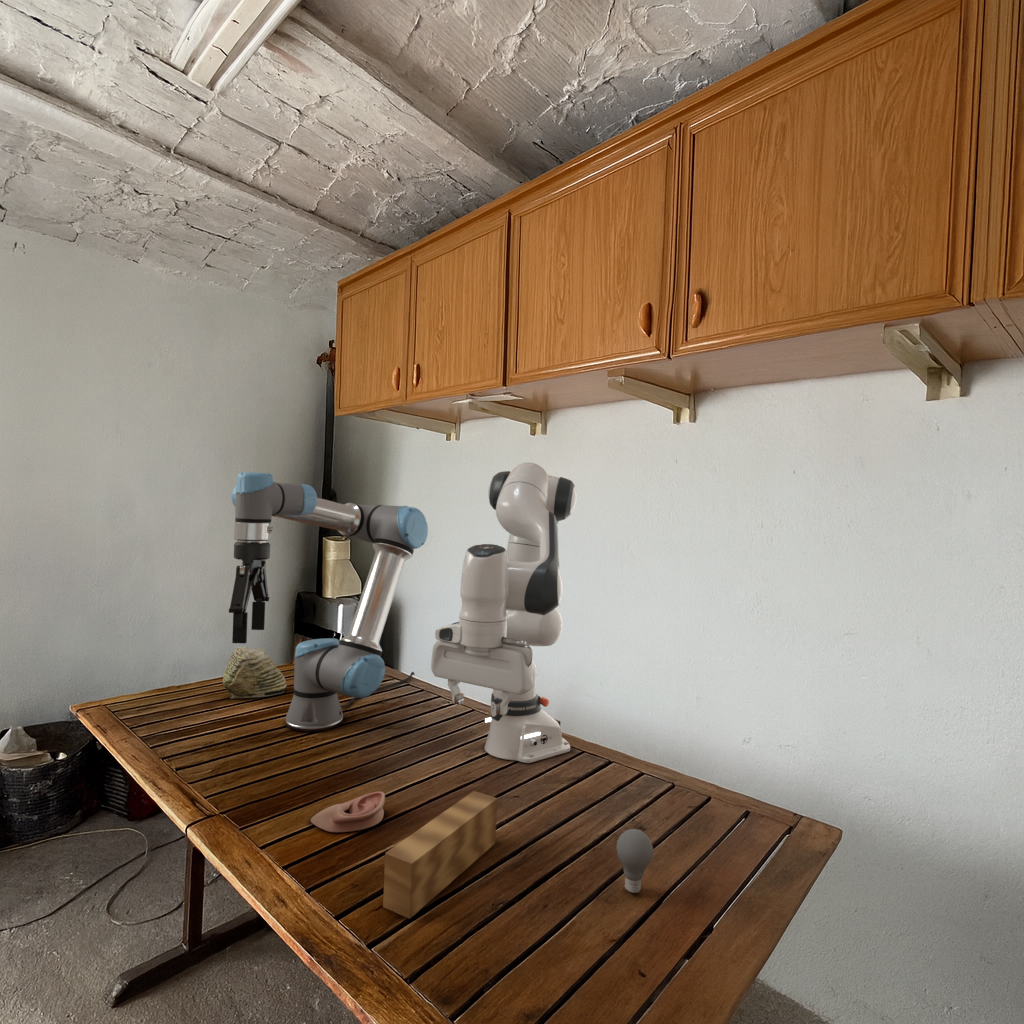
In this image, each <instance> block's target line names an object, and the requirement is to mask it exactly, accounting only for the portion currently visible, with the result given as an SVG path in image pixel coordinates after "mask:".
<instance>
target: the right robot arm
mask: <svg viewBox="0 0 1024 1024" xmlns="http://www.w3.org/2000/svg"><path fill="white" fill-rule="evenodd" d="M575 486H576V485H575V484H574V482H573V481H572V480H571V479H569V478H565V477H562V476H560V477H558V476H553V475H549V474H547V471H546V470H545V469H544V468H543V467H542V466H541V465H540V464H537V463H534V462H521V463H519V464H517V465H516V466H515V467H514V468H513V469H512V470H511V471H510V470H507V471H506V470H505V471H499V472H497V473H496V474H494V475H493V477H492V479H491V481H490V483H489V485H488V491H487V493H488V495H487V496H488V499H489V506H491V508H492V509H493V510H494V511H495V515H496V519H497V521H498V523H499V525H500V526H501V527H502V528H503V530H505V531H506V532H507V533H508V534H509V535H508V541H507V547H506V548H505V547H503V546H501V545H498V544H491V543H482V544H475V545H472V546H470V547H468V548H467V549H466V551H465V553H464V559H463V563H462V570H461V577H460V589H459V590H460V591H459V592H460V598H461V608H460V612H459V615H458V617H459V618H458V621H457V622H453V623H451V624H447V625H446V624H445V625H444V626H441V627H440V626H439V627H437V628H436V629H435V631H434V637H435V639H436V641H435V642H434V643H433V647H432V650H431V651H432V652H431V660H430V661H431V662H430V670H431V673H432V674H433V676H434V677H436V678H440V679H444V680H445V679H446V680H447V686H448V689H449V691H450V693H451V698H452V699H451V702H452V704H454V705H458V706H461V705H463V704H464V703H465V702H464V701H465V693H462V692H461V690H460V687H459V684H460V683H463V684H469V685H474V686H477V687H478V686H479V687H483V688H487V689H492V693H491V695H490V696H491V698H490V717H486V718H484V722H485V723H490V724H489V729H488V734H487V737H486V741H485V743H484V746H483V748H484V751H485V752H486V753H487V754H488V755H490V756H492V757H495V758H498V759H500V760H501V759H502V760H509V761H516V762H521V763H524V764H531V763H535V762H538V761H542V760H544V759H548V758H552V757H555V756H556V757H557V756H559V755H562V754H565V753H568V752H571V744H570V743H569V741H567V739H565V738H564V737H563V733H562V727H561V721H560V720H558V719H555V718H554V717H552V716H551V715H550V714H549V713H548V712H546V711H545V710H544V709H543V708H542V706H543V707H545V708H546V707H548V706H549V705H550V699H548V698H546V697H545V696H541V695H539V694H537V678H538V677H537V676H538V674H537V673H538V669H537V665H536V662H535V661H534V659H533V658H534V650H533V648H532V647H550V646H552V645H554V644H556V643H557V641H558V640H559V639H560V637H561V635H562V632H563V626H564V625H563V618H562V615H561V613H560V611H559V610H558V609H557V608H558V607H559V606H560V603H561V601H562V597H563V580H562V576H561V572H560V551H559V531H558V530H559V528H558V524H559V522H560V521H564V520H566V519H567V518H569V517H570V516H571V515H572V512H573V511H574V510H575V507H576V505H577V500H578V499H577V498H578V496H577V490H576V487H575Z"/></svg>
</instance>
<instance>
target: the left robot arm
mask: <svg viewBox="0 0 1024 1024" xmlns="http://www.w3.org/2000/svg"><path fill="white" fill-rule="evenodd" d="M231 502H232V504H233V506H234V508H235V510H234V511H235V514H234V519H235V520H234V533H233V539H234V540H235V542H234V544H233V558H234V559H235V560H238V561H240V560H241V561H242V562H241V565H236V568H235V579H234V583H233V584H234V585H233V590H232V593H231V594H232V595H231V600H230V606H229V608H228V613H230V614H233V615H232V637H231V640H232V641H231V642H232V644H247V642H248V640H247V639H248V615H249V613H248V611H247V609H248V605H249V602H250V601H249V600H250V597H251V594H252V598H253V600H254V601H252V602H251V604H252V605H251V628H250V629H251V631H264V630H265V621H266V619H265V618H266V602H269V601H270V596H269V589H268V579H267V570H266V568H267V567H266V564H267V563H266V560H269V559H270V557H271V543H270V542H268V541H270V540H271V532H273V531H274V527H273V526H272V517H273V518H274V517H275V518H279V519H284V520H289V521H293V522H298V523H302V524H306V525H311V526H316V527H320V528H326V529H330V530H336V531H337V532H338V533H339V534H341V535H343V536H346V537H349V538H354V539H357V540H360V541H363V542H366V543H370V544H372V548H373V550H374V551H375V552H374V553H375V554H374V556H373V559H372V562H371V565H370V568H369V571H368V575H367V577H366V581H365V583H364V587H363V589H362V592H361V595H360V598H359V601H358V604H357V607H356V610H355V613H354V615H353V618H352V622H351V624H350V628H349V631H348V633H347V634H346V635H345V636H344V637H342V638H340V640H339V639H338V638H335V637H333V638H332V637H329V638H315V639H308V640H304V641H302V642H299V643H298V644H297V645H296V646H295V652H294V653H295V654H294V656H293V659H294V661H293V662H294V663H293V664H294V668H293V695H292V696H293V697H292V699H291V702H290V704H289V708H288V711H287V713H286V715H285V726H286V728H287V729H289V730H291V731H294V732H295V731H296V732H301V733H316V732H325V731H329V730H332V729H335V728H337V727H339V726H340V725H342V723H343V722H344V714H343V709H345V708H346V707H349V706H351V704H352V702H354V701H356V700H357V699H365V698H367V697H370V696H371V695H372V694H373V693H375V692H377V691H380V690H383V689H386V688H390V687H393V686H396V685H400V684H402V683H405V682H407V681H409V680H411V679H412V677H413V676H414V675H416V674H415V672H414V671H410V674H409V677H406V678H404V679H402V680H400V681H396V682H394V683H391V684H387V685H383V686H381V685H382V682H383V681H384V678H385V673H386V667H385V660H384V659H383V658H382V657H381V656H382V653H383V649H382V647H381V645H380V641H381V638H382V634H383V632H384V628H385V625H386V622H387V620H388V615H389V613H390V609H391V606H392V604H393V601H394V597H395V594H396V591H397V587H398V584H399V581H400V578H401V574H402V573H403V572H402V571H403V569H404V566H405V562H406V561H408V560H410V559H412V557H413V556H414V555H413V554H414V552H415V550H416V549H420V548H421V547H422V546H424V545H425V543H426V542H427V539H428V534H429V526H428V522H427V519H426V516H425V514H424V513H423V511H421V510H420V509H419V508H417V507H414V506H408V505H386V504H358V503H353V502H347V503H345V504H343V503H341V502H336V501H332V500H329V499H324V498H320V497H318V495H317V492H316V490H315V488H314V487H313V486H312V485H310V484H305V483H299V482H297V483H293V482H292V483H291V482H276V481H275V482H274V477H273V474H272V473H267V472H256V471H255V472H253V471H242V472H240V473H238V474H237V477H236V484H235V486H234V488H233V489H232V492H231ZM338 694H340V695H344V696H346V697H348V698H351V699H350V700H349V701H348V702H347V703H346V704H344V705H341V702H340V699H339V695H338Z"/></svg>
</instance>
